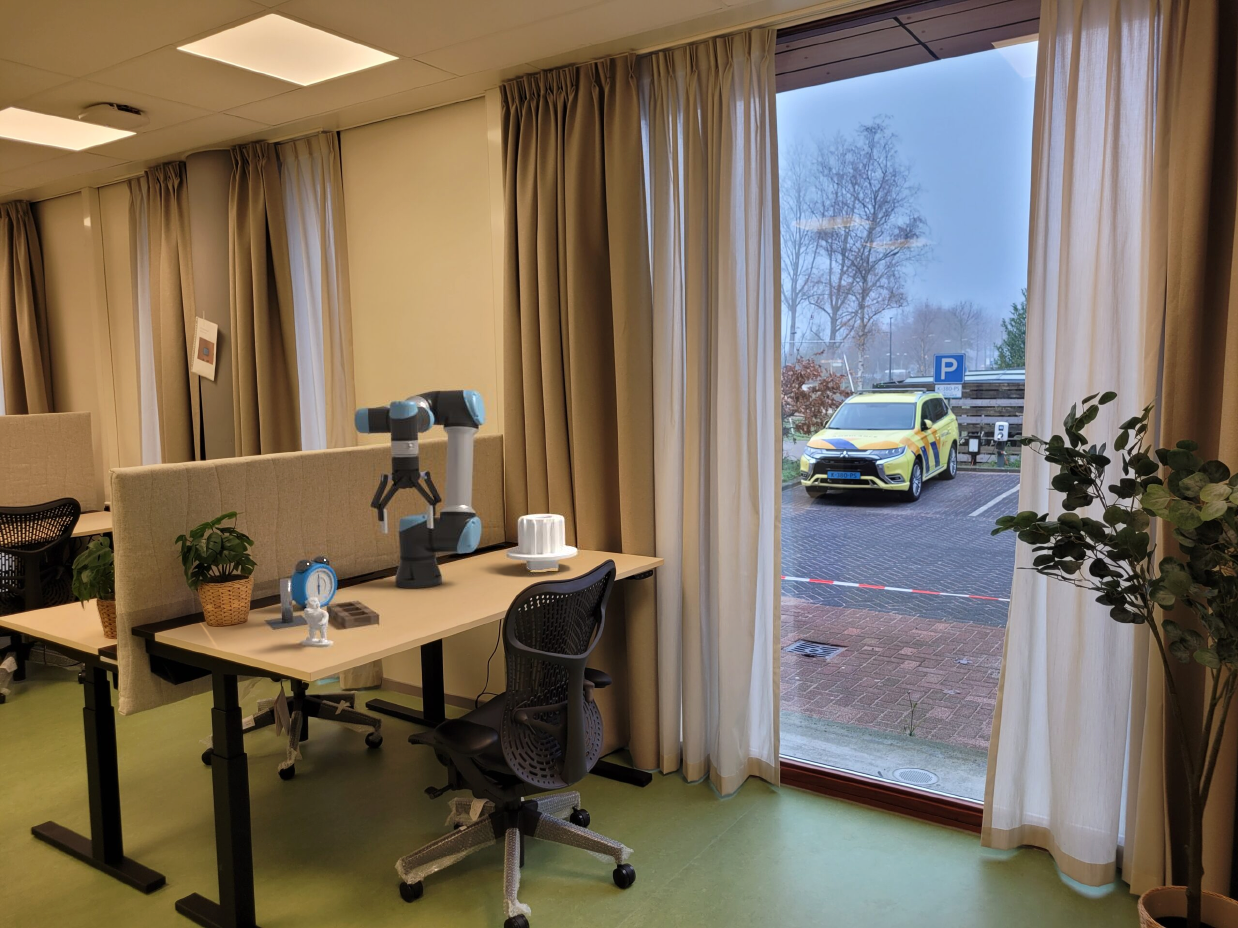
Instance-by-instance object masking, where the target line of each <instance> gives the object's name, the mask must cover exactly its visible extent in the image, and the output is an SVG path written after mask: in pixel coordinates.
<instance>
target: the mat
mask: <svg viewBox="0 0 1238 928" xmlns="http://www.w3.org/2000/svg"><path fill="white" fill-rule="evenodd" d="M264 622H265V623H266V624H267V626H269V627H270V628H271V629H272V630H275V631H276V630H281V629H287V628H293V627H294V628H295V627H300V626H301V627H302V626H307V625H308V624H307V621H306V619H305V616H303V615H301V614H299V615H293V622H292V623H282V617H278V618H277V617H276V618H271V619H265V620H264ZM308 626H309V625H308Z"/></svg>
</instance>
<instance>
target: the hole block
mask: <svg viewBox="0 0 1238 928" xmlns="http://www.w3.org/2000/svg"><path fill="white" fill-rule="evenodd" d="M325 607H326V612H327V613H328V615H329V617H330V618H331V619H333V620H334V621H335V622H337V623H338V624H339V625H341V626H342V627H343V628H345V630H349V629H355V628H361V627H366V626H373V625H374V626H375V625H378V626H380V614H379V613H378V612H376V611H374V610H373V609H372V608H370V607H369V606H367V605H365V604H363V602H361V601H359V600H353V601H345V602H339V603H329V605H326V606H325Z"/></svg>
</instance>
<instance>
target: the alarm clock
mask: <svg viewBox="0 0 1238 928" xmlns="http://www.w3.org/2000/svg"><path fill="white" fill-rule="evenodd" d="M330 564H331V563H330V560H329V559H328V557H326V556H325V555H318V556H316V557H314V558H312V559H310V560H309V559H307V558H304V559H301V560H299V561H297V562H296V564H295V565H294V570H295V571H294V572H293V574H292V576H291V578H290V579H291V582H292V601H294V603H295V604H297V605H299V606H301V607H306V606H307V603H305V601H306V600H308V599H309V598H313V597H317V598H318V602H319V604H320V608H323V607H327V606H326V605H330V602H332V600H333V599H334V597H335V594H336V591H337V588H338V579H337V575H336V572H335V571H334V569H333V568H332V567H331V566H330ZM306 608H307V607H306Z"/></svg>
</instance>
